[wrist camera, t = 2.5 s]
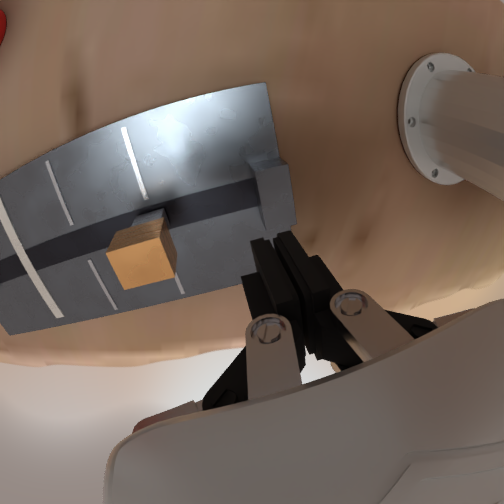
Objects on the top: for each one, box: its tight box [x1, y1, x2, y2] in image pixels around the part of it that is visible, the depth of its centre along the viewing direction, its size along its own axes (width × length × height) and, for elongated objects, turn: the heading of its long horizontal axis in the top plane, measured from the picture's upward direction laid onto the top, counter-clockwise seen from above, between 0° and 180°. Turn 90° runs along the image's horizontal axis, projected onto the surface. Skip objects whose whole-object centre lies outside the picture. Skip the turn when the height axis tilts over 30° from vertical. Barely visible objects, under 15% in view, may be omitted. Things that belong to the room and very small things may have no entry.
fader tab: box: [106, 208, 177, 290], centre depth 16 cm, size 3×2×5 cm
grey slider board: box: [0, 82, 297, 335], centre depth 19 cm, size 30×14×4 cm, turn 101°
